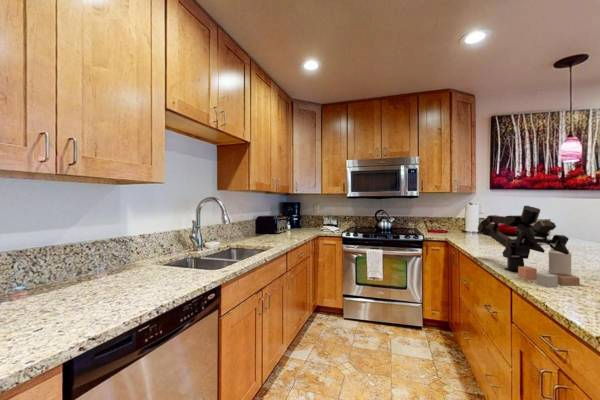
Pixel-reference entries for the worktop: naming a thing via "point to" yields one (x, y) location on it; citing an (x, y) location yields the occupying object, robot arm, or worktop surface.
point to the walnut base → (567, 279)
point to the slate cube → (547, 280)
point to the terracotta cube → (527, 272)
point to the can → (559, 262)
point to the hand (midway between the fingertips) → (556, 252)
